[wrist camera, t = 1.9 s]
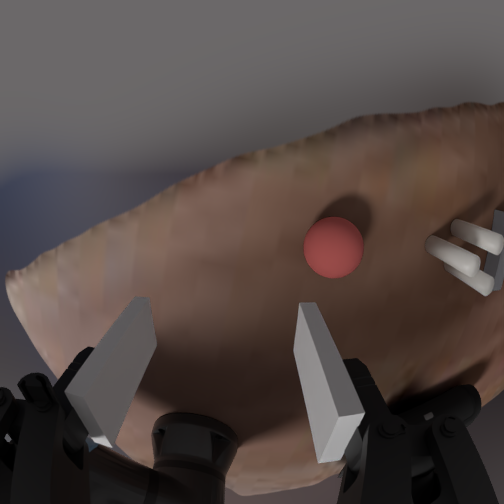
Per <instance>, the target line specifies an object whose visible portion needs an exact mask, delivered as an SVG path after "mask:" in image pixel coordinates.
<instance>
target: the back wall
mask: <svg viewBox="0 0 504 504" xmlns="http://www.w3.org/2000/svg"><path fill="white" fill-rule="evenodd" d="M492 231H493V232H496V233H498V234H501V235H502V236H503V238H504V212H503V211H499V210H494V218H493V225H492ZM483 272H485V273H486V274H488V275H490V276H492V277H493V278H494V287H493V289H492V291H496V290H500V289H501V286H502V283H503V279H504V246H503V249H502V251H501V253H500V254H499V255H495V254H493V253H491V252H488V253H487V258H486V262H485V266H484V270H483Z"/></svg>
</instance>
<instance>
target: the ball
mask: <svg viewBox="0 0 504 504" xmlns="http://www.w3.org/2000/svg"><path fill="white" fill-rule="evenodd" d="M363 251H364V244H363V239H362V236H361V234H360V232H359V230H358V229H357V228H356V226H355V225H354V224H352V223H351V222H350V221H348V220H346V219H344V218H340V217H327V218H323V219H321V220H319V221H317V222H316V223H315V224H313V226H312V227H311V228H310V229H309V230H308V232H307V234H306V236H305V240H304V255H305V258H306V261H307V263H308V264H309V266H310V267H311V268H312V269H313V270H314V271H315V272H316V273H318V274H319V275H321V276H324V277H327V278H340V277H344V276H346V275H348V274H350V273H351V272H352V271H354V270H355V269H356V268H357V266H358V265H359V263H360V261H361V259H362V256H363Z"/></svg>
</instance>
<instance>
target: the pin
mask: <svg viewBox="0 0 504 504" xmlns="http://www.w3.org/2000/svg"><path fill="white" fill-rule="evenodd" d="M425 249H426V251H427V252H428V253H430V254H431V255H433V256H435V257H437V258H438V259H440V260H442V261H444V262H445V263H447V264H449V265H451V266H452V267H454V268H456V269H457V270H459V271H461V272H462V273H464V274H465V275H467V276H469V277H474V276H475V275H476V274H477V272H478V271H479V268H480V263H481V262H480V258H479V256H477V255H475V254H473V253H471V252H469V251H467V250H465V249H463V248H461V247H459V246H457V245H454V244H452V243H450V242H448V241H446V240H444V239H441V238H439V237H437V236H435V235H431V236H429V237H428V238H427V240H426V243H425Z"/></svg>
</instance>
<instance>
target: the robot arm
mask: <svg viewBox="0 0 504 504" xmlns="http://www.w3.org/2000/svg"><path fill="white" fill-rule="evenodd" d="M156 347H157V341H156V335H155V330H154V324H153V318H152V311H151V304H150V298H148V297H134V298H133V300H132V301H131V302H130V303H129V305H128V306H127V307H126V308H125V310H124V311H123V312H122V313H121V315H120V316H119V317H118V319H117V320H116V321H115V322H114V324H113V325H112V326H111V328H110V329H109V330H108V331H107V333H106V334H105V335H104V337H103V338H102V339H101V341H100V342H99V343H98V345H97V346H96V347H95V348H93V347H87V348H85V349H84V350H82V351H81V352H79V353H78V355H77V356H76V357H75V358H74V360H73V363H72V362H71V364H70V365H69V366H68V369H66V370H65V372H64V373H63V374H62V376H61V377H60V378H59V380H58V381H57V383H56V384H55V385H54V387H52V385H51V383H50V381H49V379H48V377H47V376H45V375H44V374H41V373H30V374H28V375H26V376H25V377H23V378H22V379H21V380H20V381H19V383H18V384H17V385H18V387H19V389H20V391H21V392H22V394H23V396H24V397H25V399H26V400H22V399H15V398H14V396H13V394H12V393H11V391H10V390H9V389H7V388H4V387H0V504H224V500H225V478H226V474H227V472H228V470H229V468H230V466H231V464H232V462H233V459H234V457H235V455H236V453H237V445H238V439H237V436H236V434H235V433H234V431H233V430H232V429H230V428H229V427H228V426H226V425H225V424H223V423H221V422H219V421H217V420H214V419H212V418H208V417H205V416H201V415H196V414H188V413H174V414H168V415H165V416H162V417H160V418H159V419H157V420H156V422H155V424H154V427H153V430H152V435H151V437H152V446H153V454H154V466H153V469H151V468H149V467H147V466H144V465H142V464H140V463H138V462H135V461H133V460H131V459H129V458H127V457H125V456H123V455H121V454H119V453H117V452H115V451H113V450H111V449H109V448H107V447H106V446H108V447H112V448H113V446H114V443H115V441H116V438H117V436H118V433H119V431H120V428H121V426H122V424H123V421H124V419H125V416H126V414H127V412H128V409H129V407H130V404H131V402H132V400H133V398H134V395H135V393H136V391H137V388H138V386H139V384H140V382H141V379H142V377H143V375H144V373H145V370H146V368H147V366H148V364H149V362H150V359H151V357H152V355H153V353H154V351H155V349H156ZM293 351H294V356H295V360H296V364H297V369H298V373H299V377H300V382H301V386H302V391H303V395H304V400H305V404H306V409H307V413H308V418H309V422H310V427H311V432H312V436H313V441H314V446H315V451H316V455H317V460H318V463H323V462H330V461H336V460H340V459H341V457H342V456H343V454H344V452H345V455H346V459H347V463H346V464H345V466H344V468H343V469H342V470H341V472H340V474H339V476H338V477H339V478H341V477H342V476H343V477H342V482H341V487H340V492H339V497H338V501H337V504H499V503H498V500H497V497H496V495H495V492H494V489H493V486H492V484H491V481H490V479H489V476H488V474H487V471H486V469H485V467H484V464H483V462H482V460H481V458H480V455H479V453H478V451H477V449H476V447H475V445H474V443H473V441H472V438H471V436H470V434H469V432H468V430H467V429H466V427H465V425H464V423H463V422H462V420H461V419H460V418H458V417H457V416H455V415H451V414H442V415H440V416H438V417H437V418H436V419H435V420H434V421H433V422H432V424H431V425H409V424H407V423H406V422H405V420H404V419H402V418H401V417H399V416H397V415H392V414H391V412H390V411H389V409H388V407H387V405H386V403H385V401H384V399H383V397H382V395H381V393H380V391H379V389H378V387H377V385H375V381H374V380H373V378H372V377H371V374H370V372H369V370H368V368H367V366H366V365H365V364H363V363H362V362H361V361H360V360H359V359H357V358H354V359H344V360H342V358H341V356H340V354H339V352H338V349H337V347H336V345H335V343H334V341H333V339H332V336H331V334H330V332H329V330H328V328H327V326H326V323H325V321H324V319H323V317H322V315H321V313H320V311H319V309H318V306H317V304H316V302H311V303H299V310H298V318H297V326H296V334H295V342H294V349H293ZM6 434H8V435H9V436H10V437H11V439H12V440H11V441H10V442H7V441H6V440H5V435H6ZM88 434H89V435H90V436H91V438H92V439H91V438H89V437H87V436H88ZM104 445H105V446H104Z"/></svg>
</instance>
